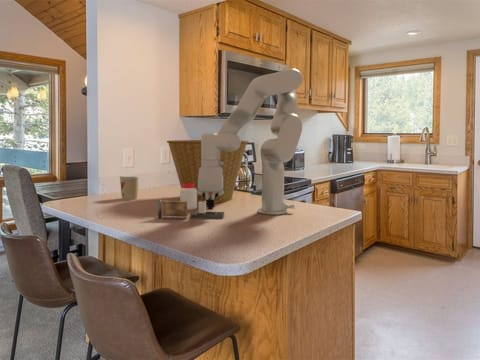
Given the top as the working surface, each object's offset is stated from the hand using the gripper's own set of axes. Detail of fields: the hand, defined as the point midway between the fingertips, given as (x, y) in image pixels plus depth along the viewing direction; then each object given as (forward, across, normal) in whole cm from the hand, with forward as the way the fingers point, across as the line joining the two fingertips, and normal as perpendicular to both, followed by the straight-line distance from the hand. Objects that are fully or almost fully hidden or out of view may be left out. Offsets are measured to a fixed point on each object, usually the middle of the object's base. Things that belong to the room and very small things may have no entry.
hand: (210, 208), depth 156 cm
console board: (+3, +1, 0) cm, 3 cm away
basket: (+3, +7, -45) cm, 46 cm away
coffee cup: (+4, +47, -39) cm, 62 cm away
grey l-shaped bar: (+3, +14, +5) cm, 16 cm away
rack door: (+2, +13, +5) cm, 15 cm away
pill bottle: (+4, +12, -18) cm, 22 cm away
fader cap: (+2, +3, 0) cm, 4 cm away
